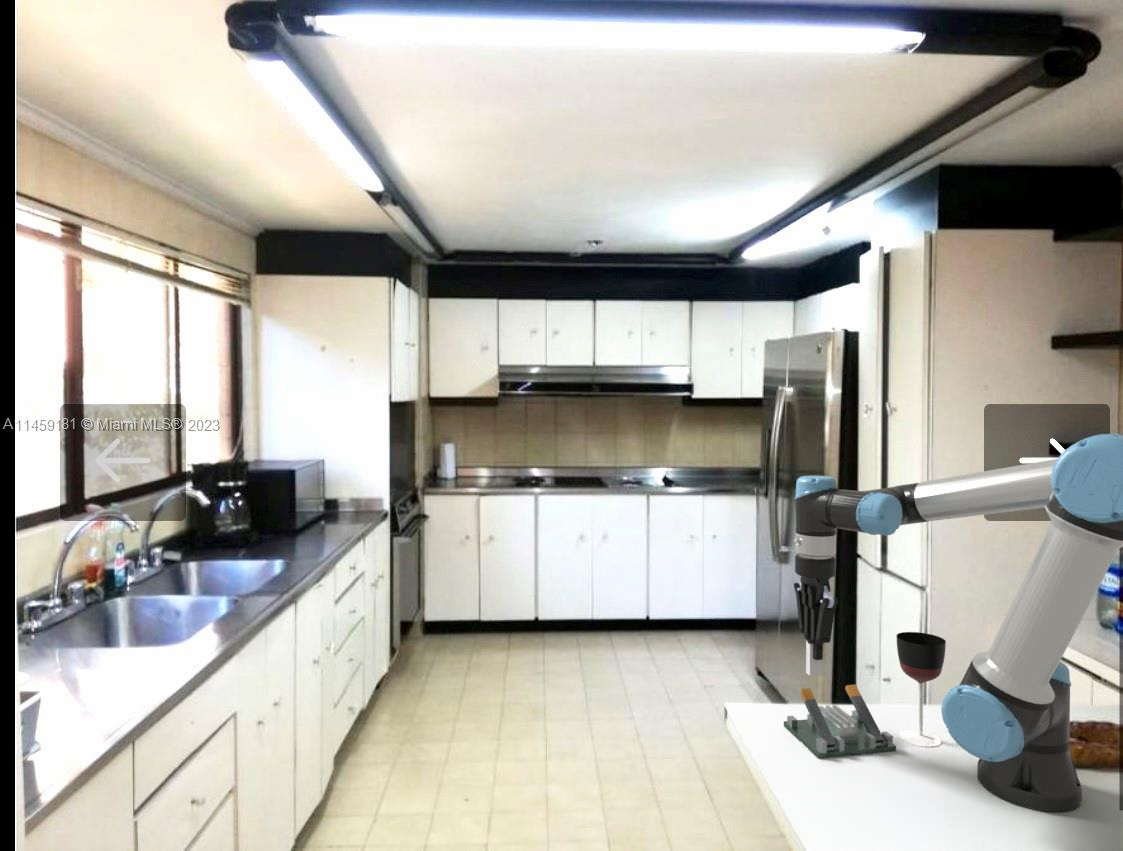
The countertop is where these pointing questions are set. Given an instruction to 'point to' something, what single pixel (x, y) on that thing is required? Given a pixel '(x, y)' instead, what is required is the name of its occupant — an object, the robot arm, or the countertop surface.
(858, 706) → the lever
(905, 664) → the wineglass
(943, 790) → the countertop surface
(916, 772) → the countertop surface
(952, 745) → the countertop surface
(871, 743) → the circuit board
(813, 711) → the lever
